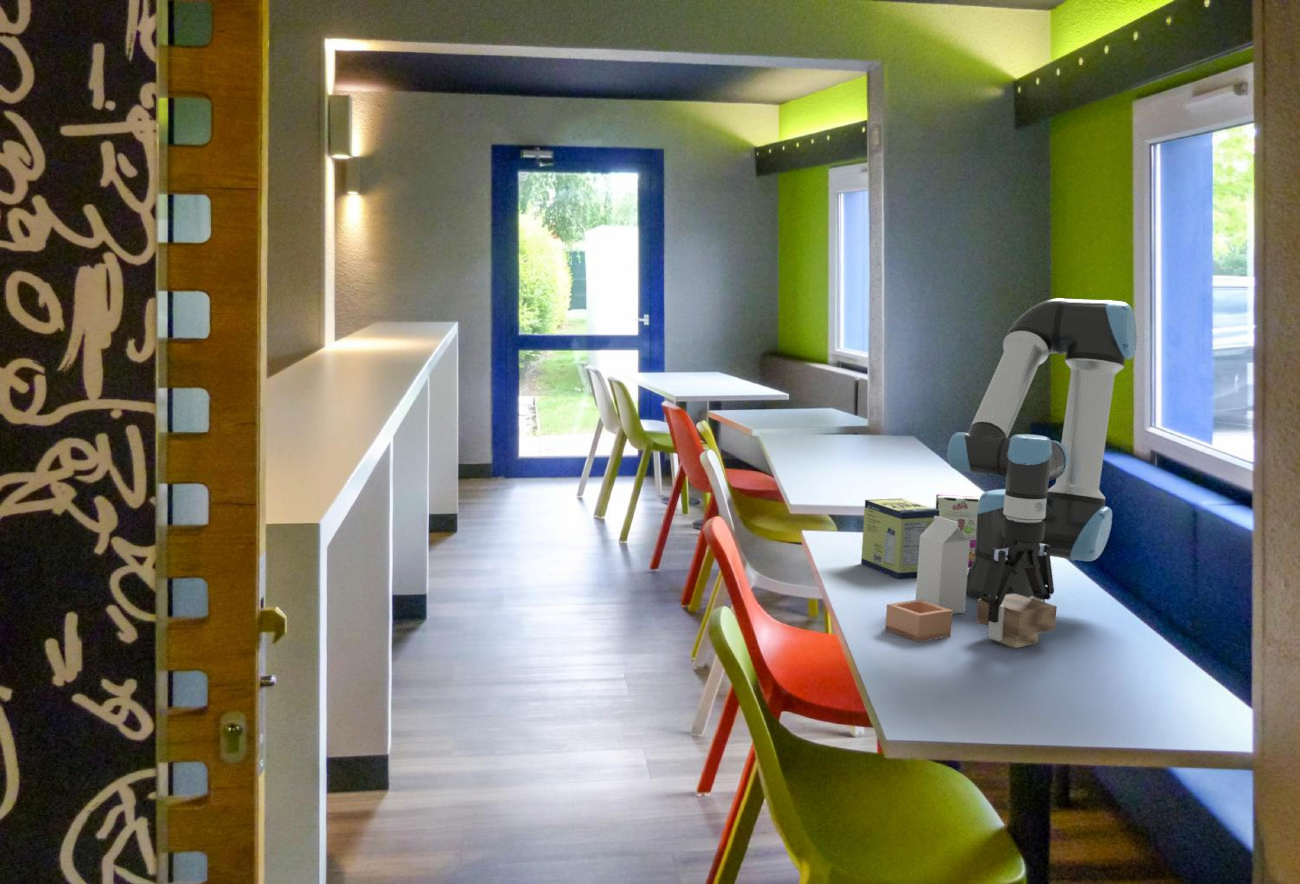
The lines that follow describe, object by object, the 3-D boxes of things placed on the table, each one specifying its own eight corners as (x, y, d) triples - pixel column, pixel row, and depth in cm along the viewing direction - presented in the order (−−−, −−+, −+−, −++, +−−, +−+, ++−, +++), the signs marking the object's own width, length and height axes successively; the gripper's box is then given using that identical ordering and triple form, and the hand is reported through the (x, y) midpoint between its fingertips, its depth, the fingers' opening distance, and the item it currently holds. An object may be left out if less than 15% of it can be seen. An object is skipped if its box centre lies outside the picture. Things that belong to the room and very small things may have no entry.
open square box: (917, 624, 239) (919, 599, 238) (950, 636, 232) (952, 610, 231) (885, 629, 235) (887, 604, 234) (917, 641, 227) (919, 615, 227)
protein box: (896, 561, 293) (900, 497, 291) (936, 577, 279) (941, 509, 277) (859, 564, 289) (863, 499, 287) (898, 579, 275) (902, 511, 273)
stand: (1012, 635, 234) (1013, 619, 234) (1037, 643, 229) (1038, 628, 229) (990, 639, 231) (991, 623, 231) (1015, 647, 226) (1016, 632, 226)
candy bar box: (978, 563, 295) (983, 496, 292) (980, 568, 290) (986, 499, 288) (931, 559, 296) (935, 493, 294) (932, 564, 292) (937, 496, 289)
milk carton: (937, 616, 245) (944, 523, 243) (914, 607, 252) (921, 516, 249) (964, 613, 249) (972, 521, 246) (941, 604, 255) (948, 514, 252)
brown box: (1012, 616, 237) (1014, 593, 236) (1054, 629, 228) (1056, 606, 228) (976, 622, 231) (978, 598, 231) (1018, 636, 223) (1020, 612, 222)
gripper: (997, 526, 218) (987, 648, 221) (1080, 517, 230) (1070, 632, 233) (965, 519, 224) (956, 637, 227) (1048, 510, 236) (1039, 622, 239)
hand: (1014, 634), depth 230 cm, fingers closed on brown box, 10 cm apart
